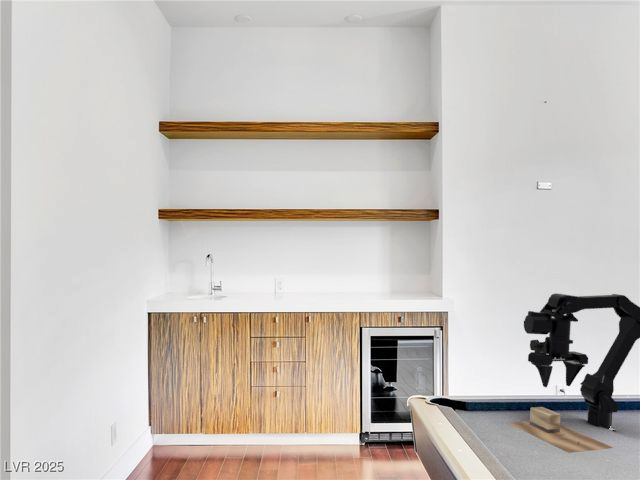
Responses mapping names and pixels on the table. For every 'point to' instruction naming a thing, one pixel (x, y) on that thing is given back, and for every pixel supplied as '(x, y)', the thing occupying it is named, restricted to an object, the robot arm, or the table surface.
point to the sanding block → (545, 419)
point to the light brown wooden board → (563, 438)
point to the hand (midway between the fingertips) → (556, 386)
